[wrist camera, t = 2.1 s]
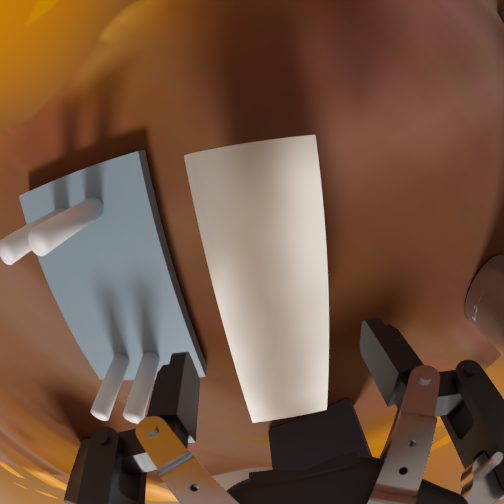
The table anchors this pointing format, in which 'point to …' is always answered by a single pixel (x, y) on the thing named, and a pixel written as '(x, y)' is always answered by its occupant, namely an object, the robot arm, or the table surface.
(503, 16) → the phone stand
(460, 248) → the table surface
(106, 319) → the peg stand
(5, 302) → the table surface
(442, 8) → the table surface
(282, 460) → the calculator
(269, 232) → the shelf board
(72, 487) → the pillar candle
